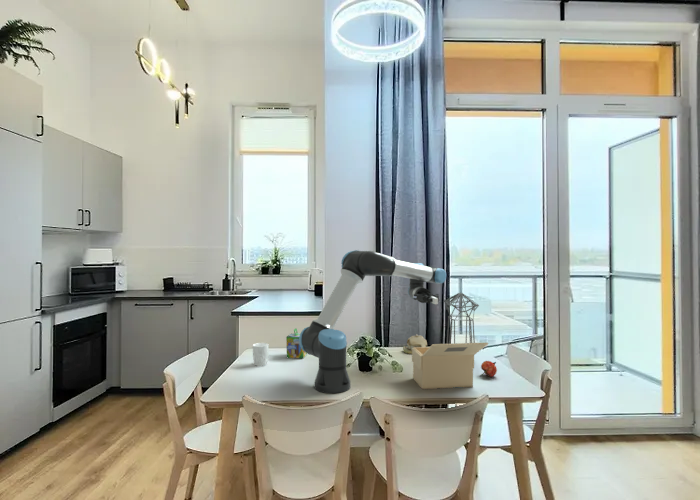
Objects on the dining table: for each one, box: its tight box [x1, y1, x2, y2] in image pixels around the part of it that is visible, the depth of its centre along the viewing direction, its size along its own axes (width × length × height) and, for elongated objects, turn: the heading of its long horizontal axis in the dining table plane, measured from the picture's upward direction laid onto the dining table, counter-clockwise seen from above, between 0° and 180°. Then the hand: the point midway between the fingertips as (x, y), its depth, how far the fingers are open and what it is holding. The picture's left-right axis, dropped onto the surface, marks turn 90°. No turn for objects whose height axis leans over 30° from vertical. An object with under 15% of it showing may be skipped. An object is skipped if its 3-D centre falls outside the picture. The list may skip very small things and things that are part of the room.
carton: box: [411, 346, 475, 390], centre depth 180 cm, size 23×14×14 cm, turn 97°
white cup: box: [252, 342, 270, 367], centre depth 207 cm, size 8×8×10 cm
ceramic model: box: [402, 333, 428, 355], centre depth 232 cm, size 14×11×10 cm
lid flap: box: [423, 342, 489, 356], centre depth 166 cm, size 22×15×1 cm, turn 97°
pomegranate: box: [479, 360, 498, 378], centre depth 189 cm, size 7×7×10 cm
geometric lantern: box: [442, 292, 480, 344], centre depth 217 cm, size 16×16×35 cm
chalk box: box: [285, 328, 308, 359], centre depth 222 cm, size 9×9×15 cm
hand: (436, 301), depth 188 cm, fingers closed
